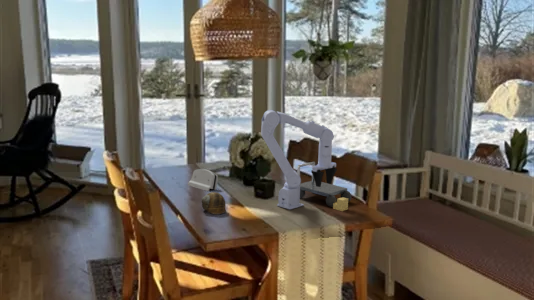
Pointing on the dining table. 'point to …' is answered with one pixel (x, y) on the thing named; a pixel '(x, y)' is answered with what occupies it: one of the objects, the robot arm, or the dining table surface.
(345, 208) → the yellow cube-like block
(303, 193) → the trolley
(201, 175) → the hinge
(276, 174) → the dining table surface
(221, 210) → the seashell
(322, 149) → the robot arm
